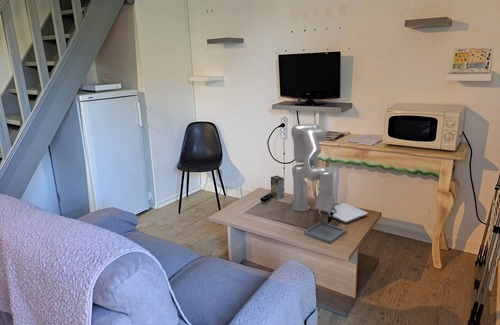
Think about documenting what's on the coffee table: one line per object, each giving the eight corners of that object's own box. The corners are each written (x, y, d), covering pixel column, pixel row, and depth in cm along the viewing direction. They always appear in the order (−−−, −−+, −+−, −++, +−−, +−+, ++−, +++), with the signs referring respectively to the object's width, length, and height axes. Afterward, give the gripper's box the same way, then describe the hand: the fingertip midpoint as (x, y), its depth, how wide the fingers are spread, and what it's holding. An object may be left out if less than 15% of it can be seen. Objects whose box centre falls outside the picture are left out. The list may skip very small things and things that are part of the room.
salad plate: (345, 226, 224) (345, 220, 223) (321, 214, 241) (321, 210, 240) (368, 217, 235) (368, 212, 234) (343, 207, 252) (343, 202, 251)
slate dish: (303, 234, 215) (303, 231, 214) (320, 224, 227) (320, 221, 226) (330, 243, 202) (330, 241, 202) (346, 232, 215) (346, 229, 214)
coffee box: (270, 196, 275) (270, 176, 271) (277, 194, 278) (276, 175, 274) (277, 200, 268) (277, 179, 263) (284, 198, 271) (284, 178, 266)
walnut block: (319, 222, 212) (319, 212, 211) (324, 219, 216) (324, 210, 214) (326, 224, 209) (326, 215, 207) (331, 221, 212) (331, 212, 211)
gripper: (309, 190, 210) (309, 218, 215) (335, 196, 199) (334, 226, 204) (317, 186, 216) (316, 215, 220) (342, 193, 204) (341, 222, 209)
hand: (325, 220), depth 212 cm, fingers closed on walnut block, 5 cm apart
